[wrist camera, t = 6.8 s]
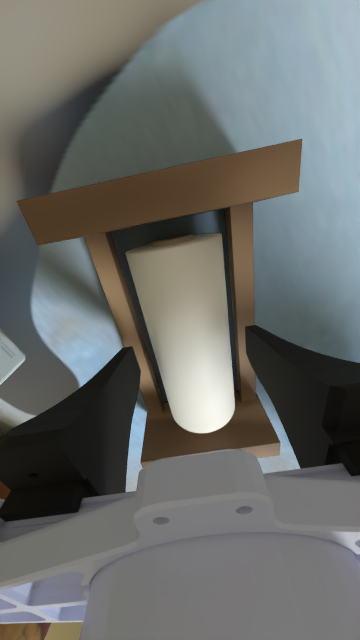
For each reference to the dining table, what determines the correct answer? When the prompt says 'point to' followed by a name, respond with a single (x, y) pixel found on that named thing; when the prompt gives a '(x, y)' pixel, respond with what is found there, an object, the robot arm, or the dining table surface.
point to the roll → (188, 325)
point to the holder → (237, 198)
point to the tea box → (9, 357)
